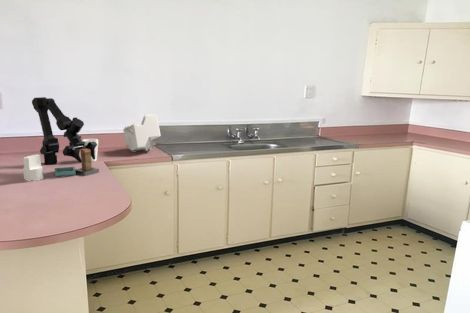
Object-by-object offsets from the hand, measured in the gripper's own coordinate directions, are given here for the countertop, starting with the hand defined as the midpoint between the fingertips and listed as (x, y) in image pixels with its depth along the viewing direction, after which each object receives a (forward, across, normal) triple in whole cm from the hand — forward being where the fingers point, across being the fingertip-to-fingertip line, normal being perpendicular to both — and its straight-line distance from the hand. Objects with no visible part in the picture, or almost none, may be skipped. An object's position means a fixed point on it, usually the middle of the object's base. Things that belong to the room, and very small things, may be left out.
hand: (87, 160), depth 211 cm
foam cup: (-11, -20, -22) cm, 31 cm away
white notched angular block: (-8, -58, -19) cm, 62 cm away
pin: (+4, 0, -6) cm, 7 cm away
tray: (-1, +9, -11) cm, 14 cm away
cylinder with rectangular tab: (-4, +24, -14) cm, 28 cm away
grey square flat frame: (+4, 0, -6) cm, 7 cm away
